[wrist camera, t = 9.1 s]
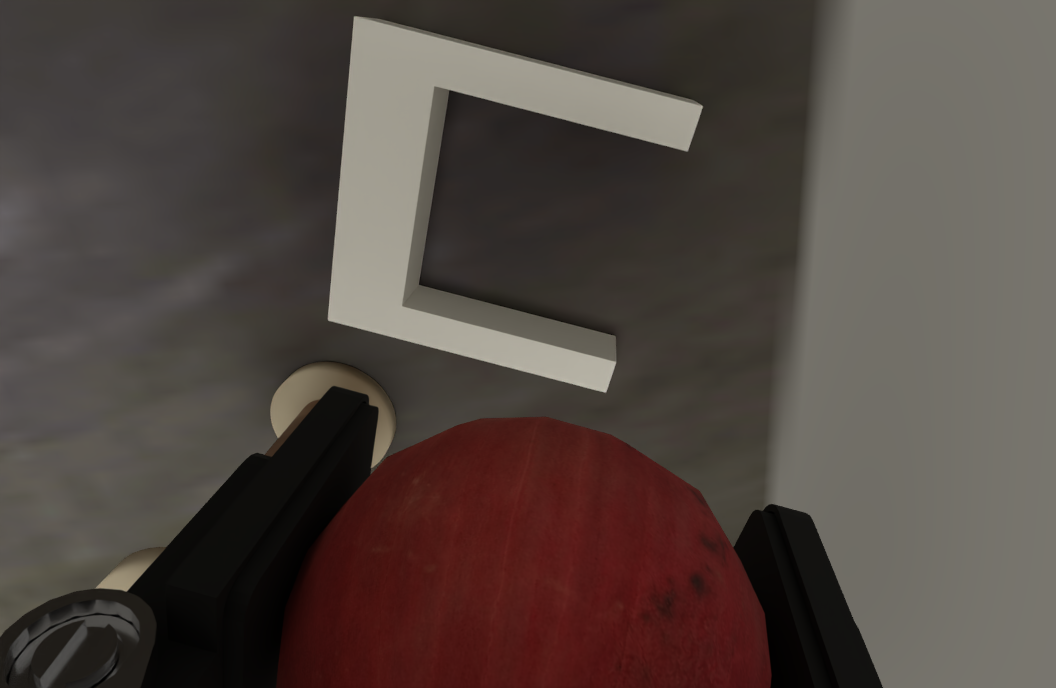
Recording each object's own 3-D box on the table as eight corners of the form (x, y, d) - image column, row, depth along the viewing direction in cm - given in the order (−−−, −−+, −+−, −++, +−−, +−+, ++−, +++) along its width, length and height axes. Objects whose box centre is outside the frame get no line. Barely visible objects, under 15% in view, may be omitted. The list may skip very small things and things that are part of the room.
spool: (277, 446, 32) (91, 673, 21) (282, 347, 29) (72, 545, 18) (388, 475, 32) (264, 719, 21) (403, 379, 29) (271, 597, 18)
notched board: (350, 298, 28) (327, 320, 26) (378, 18, 23) (354, 16, 20) (606, 364, 28) (605, 392, 26) (693, 100, 23) (703, 106, 20)
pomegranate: (720, 312, 9) (1049, 1143, 2) (715, 587, 12) (866, 1408, 5) (363, 332, 10) (-189, 962, 3) (426, 583, 13) (188, 1261, 6)
